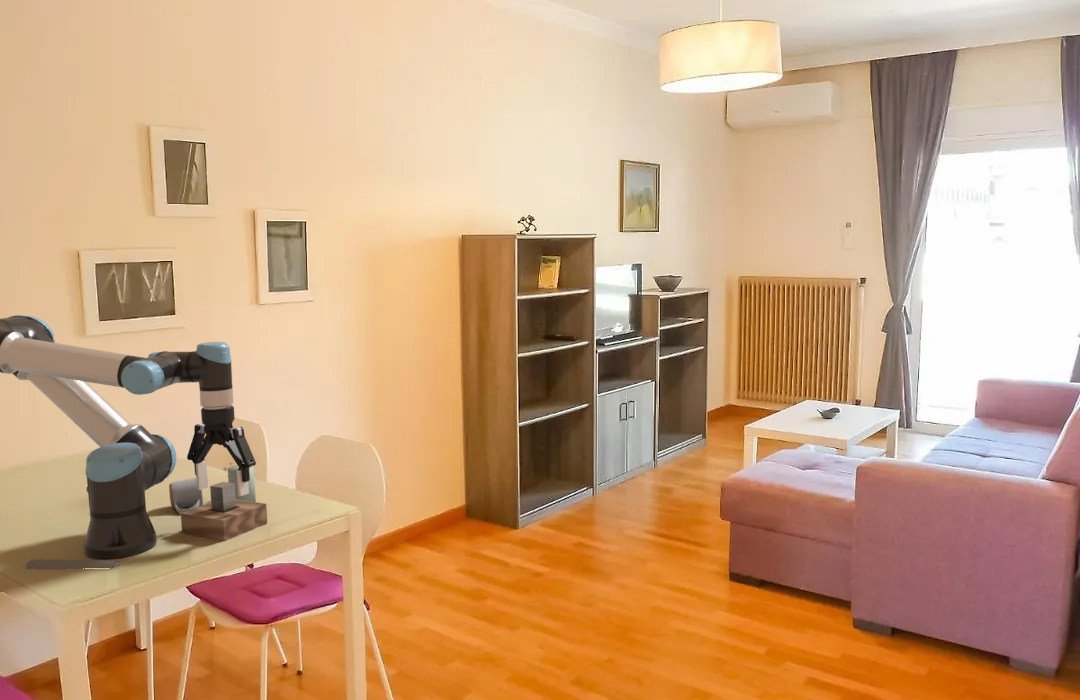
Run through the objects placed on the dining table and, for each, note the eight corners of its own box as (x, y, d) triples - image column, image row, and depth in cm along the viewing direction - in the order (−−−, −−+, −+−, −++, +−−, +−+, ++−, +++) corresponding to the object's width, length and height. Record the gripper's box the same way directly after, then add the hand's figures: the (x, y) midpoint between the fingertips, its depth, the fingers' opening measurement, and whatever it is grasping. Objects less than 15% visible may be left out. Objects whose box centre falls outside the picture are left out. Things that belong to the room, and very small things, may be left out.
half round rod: (109, 572, 187) (109, 564, 187) (24, 571, 189) (23, 563, 189) (120, 565, 191) (120, 557, 191) (37, 564, 193) (36, 556, 193)
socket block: (224, 540, 204) (223, 520, 204) (182, 533, 210) (180, 513, 210) (267, 523, 217) (266, 503, 216) (225, 516, 223) (224, 497, 222)
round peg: (243, 513, 225) (240, 472, 224) (224, 510, 228) (222, 469, 227) (261, 506, 231) (259, 465, 230) (243, 503, 234) (240, 463, 233)
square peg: (225, 531, 211) (222, 487, 210) (213, 529, 213) (210, 486, 211) (237, 526, 214) (234, 483, 213) (225, 524, 216) (222, 481, 215)
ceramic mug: (170, 505, 234) (168, 477, 232) (203, 500, 237) (201, 473, 236) (171, 516, 224) (168, 488, 223) (205, 512, 227) (203, 484, 226)
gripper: (267, 406, 208) (272, 493, 210) (192, 400, 219) (198, 482, 221) (244, 412, 201) (250, 501, 204) (167, 405, 212) (174, 490, 215)
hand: (222, 491), depth 212 cm, fingers open, 13 cm apart
